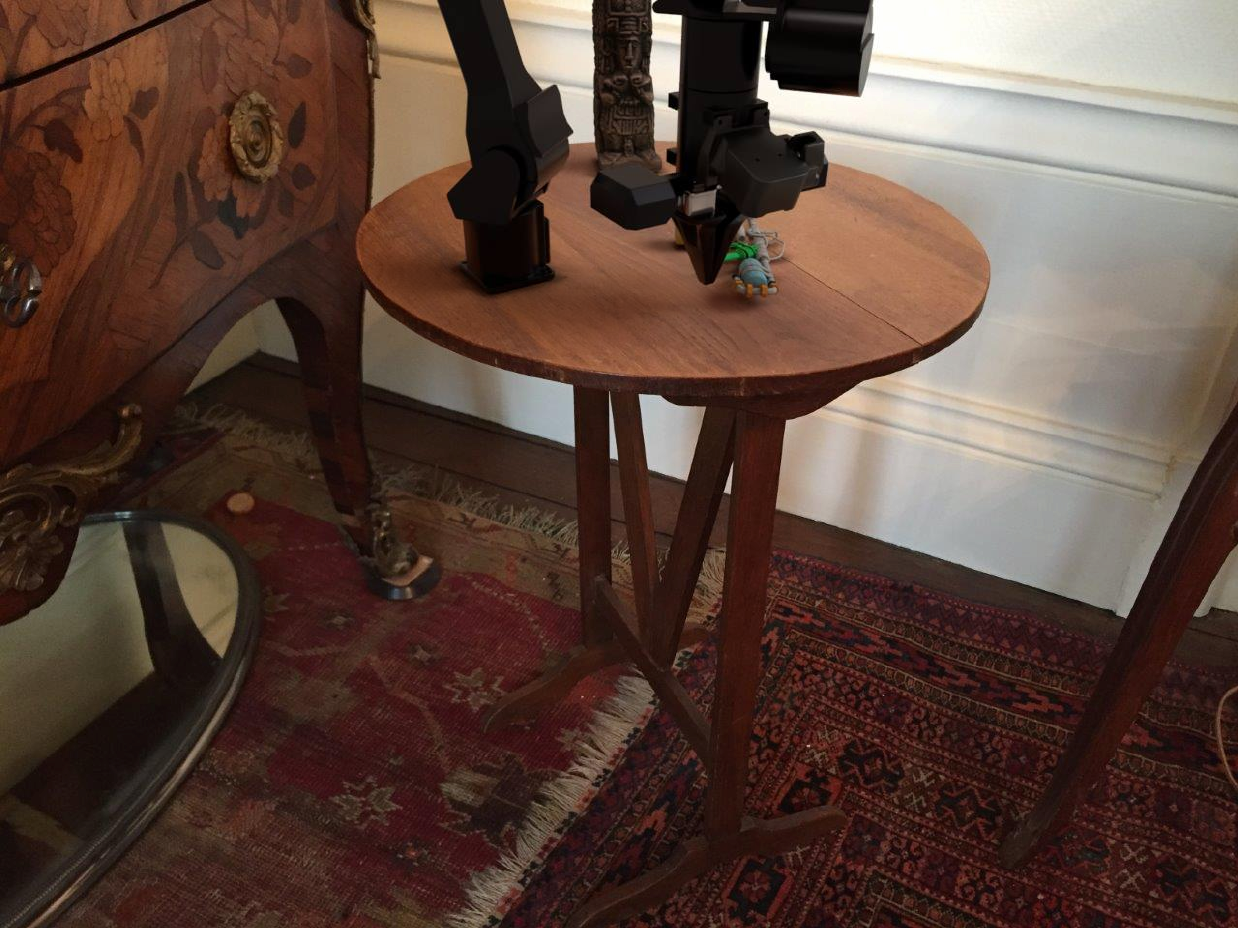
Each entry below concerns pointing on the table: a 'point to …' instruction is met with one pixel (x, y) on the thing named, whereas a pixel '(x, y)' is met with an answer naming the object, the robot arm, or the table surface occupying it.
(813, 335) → the table surface
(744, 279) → the flamethrower
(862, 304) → the table surface
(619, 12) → the statue
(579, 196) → the table surface
